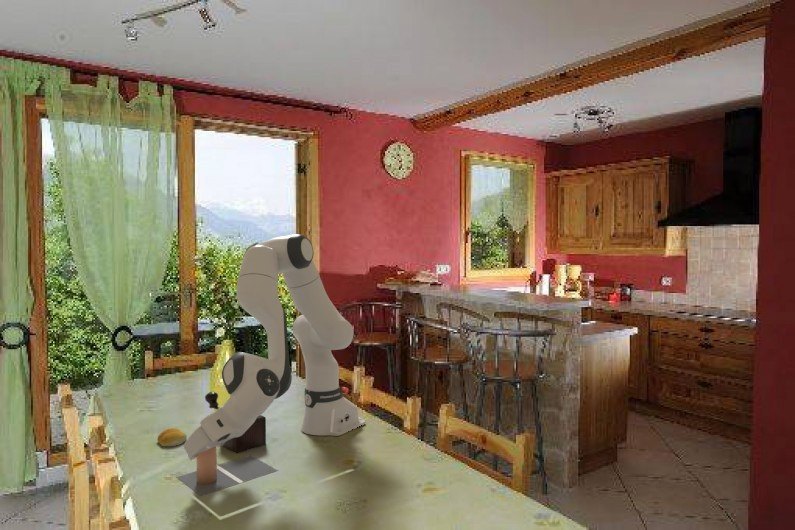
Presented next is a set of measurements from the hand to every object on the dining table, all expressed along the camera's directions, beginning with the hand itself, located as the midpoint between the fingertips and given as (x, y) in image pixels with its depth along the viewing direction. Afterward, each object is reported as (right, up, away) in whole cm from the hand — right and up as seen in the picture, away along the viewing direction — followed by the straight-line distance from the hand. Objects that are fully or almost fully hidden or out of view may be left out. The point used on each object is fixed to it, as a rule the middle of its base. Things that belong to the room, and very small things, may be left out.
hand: (204, 450), depth 143 cm
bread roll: (-21, -8, +29) cm, 37 cm away
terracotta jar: (+1, -8, 0) cm, 8 cm away
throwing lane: (+5, -8, +4) cm, 11 cm away
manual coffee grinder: (+1, -8, +24) cm, 25 cm away
